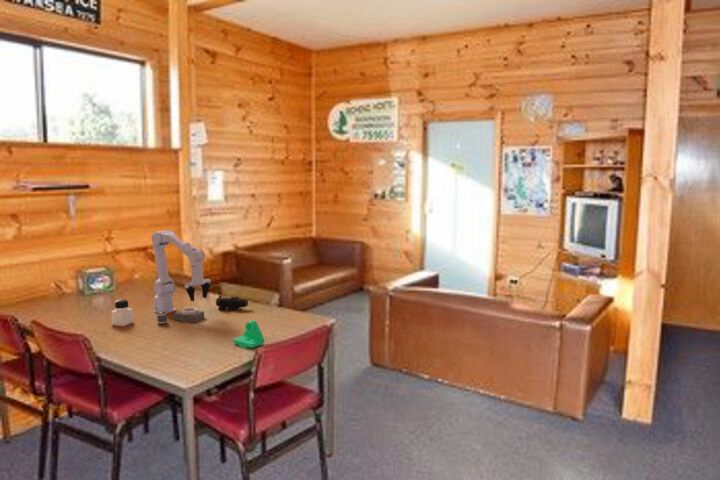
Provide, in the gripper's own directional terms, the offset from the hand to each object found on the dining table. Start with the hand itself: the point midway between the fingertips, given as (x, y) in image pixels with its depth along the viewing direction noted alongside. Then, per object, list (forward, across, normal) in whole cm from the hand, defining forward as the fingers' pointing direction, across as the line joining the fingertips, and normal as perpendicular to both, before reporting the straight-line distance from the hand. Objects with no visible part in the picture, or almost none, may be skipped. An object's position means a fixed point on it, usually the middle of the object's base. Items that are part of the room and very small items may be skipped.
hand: (198, 299), depth 267 cm
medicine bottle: (+10, -29, +23) cm, 38 cm away
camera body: (+10, -4, +2) cm, 11 cm away
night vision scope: (+10, +20, -2) cm, 22 cm away
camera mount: (+10, -13, -52) cm, 54 cm away
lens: (+10, -17, +6) cm, 21 cm away
